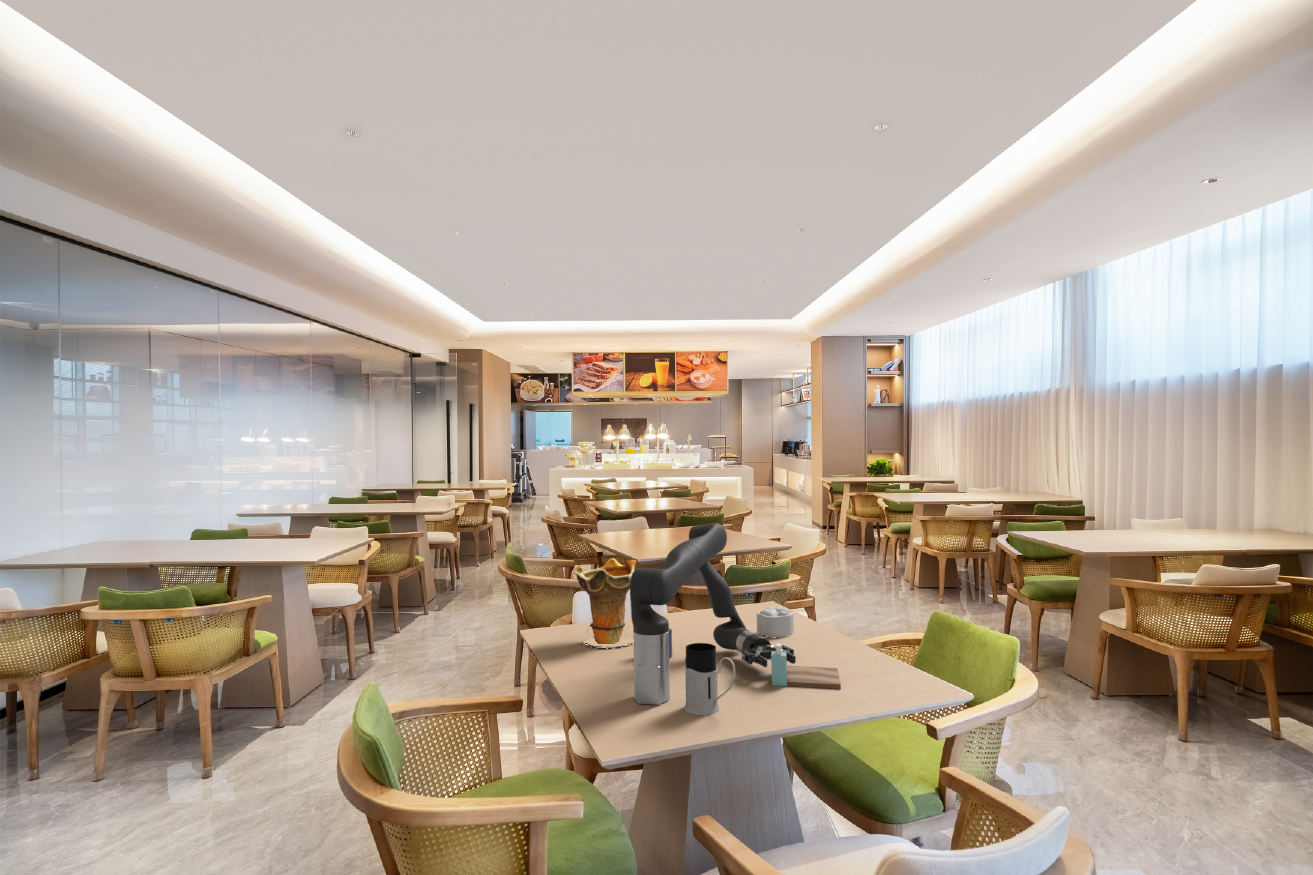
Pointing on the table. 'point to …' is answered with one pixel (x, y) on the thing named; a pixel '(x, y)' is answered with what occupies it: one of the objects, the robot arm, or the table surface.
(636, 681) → the robot arm
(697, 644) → the glass holder
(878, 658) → the table surface
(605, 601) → the decorative vase
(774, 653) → the teal bottle
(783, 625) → the lumpy-topped squat cylinder
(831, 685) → the walnut board
